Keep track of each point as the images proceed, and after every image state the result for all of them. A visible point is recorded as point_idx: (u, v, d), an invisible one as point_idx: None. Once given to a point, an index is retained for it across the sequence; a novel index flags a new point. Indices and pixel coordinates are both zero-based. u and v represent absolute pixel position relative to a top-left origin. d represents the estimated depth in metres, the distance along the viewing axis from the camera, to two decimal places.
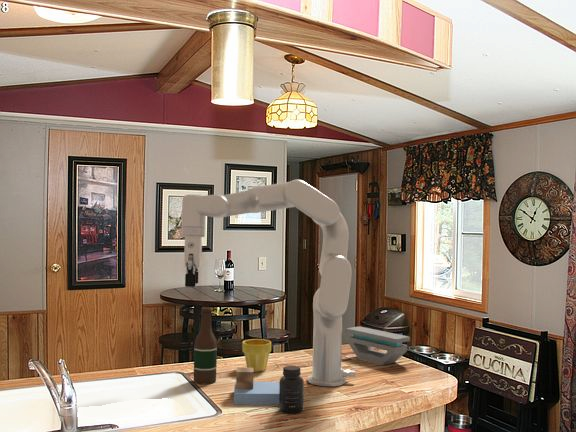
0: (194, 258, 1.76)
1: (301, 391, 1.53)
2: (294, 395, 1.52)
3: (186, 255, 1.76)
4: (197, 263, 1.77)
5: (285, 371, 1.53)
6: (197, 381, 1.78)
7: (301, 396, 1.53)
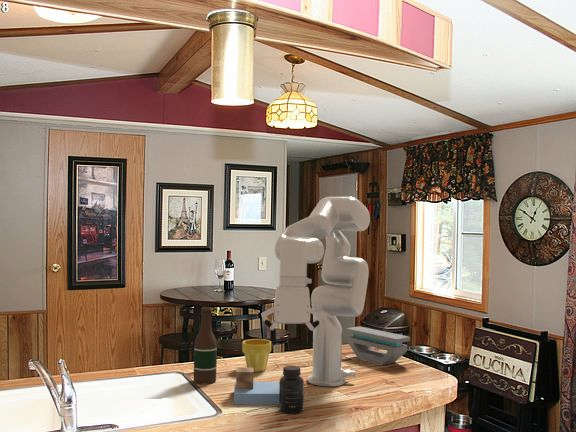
0: None
1: (301, 391, 1.53)
2: (294, 395, 1.52)
3: (310, 309, 1.54)
4: None
5: (285, 371, 1.53)
6: (197, 381, 1.78)
7: (301, 396, 1.53)
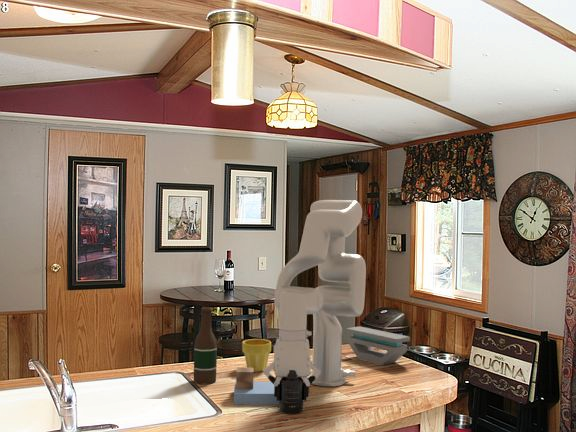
0: None
1: (301, 391, 1.53)
2: (294, 395, 1.52)
3: (310, 362, 1.54)
4: None
5: None
6: (197, 381, 1.78)
7: (301, 396, 1.53)
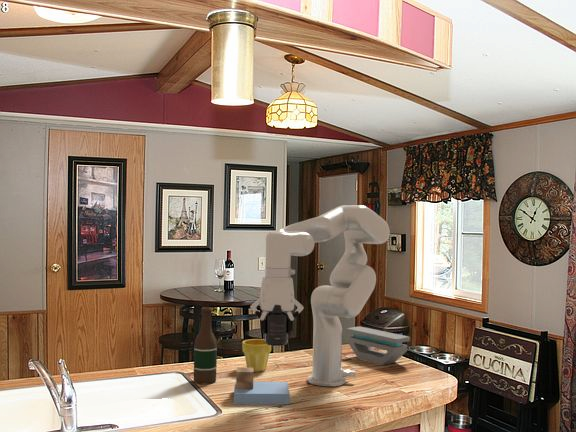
0: None
1: (285, 325, 1.64)
2: (279, 328, 1.63)
3: None
4: None
5: None
6: (197, 381, 1.78)
7: (285, 329, 1.64)
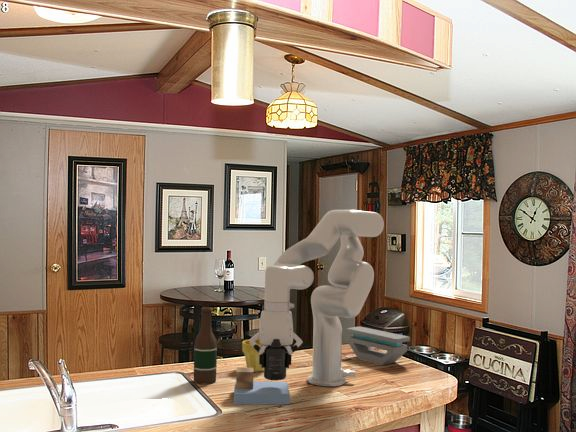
0: None
1: (284, 359, 1.64)
2: (277, 362, 1.63)
3: (292, 332, 1.65)
4: None
5: None
6: (197, 381, 1.78)
7: (284, 363, 1.64)
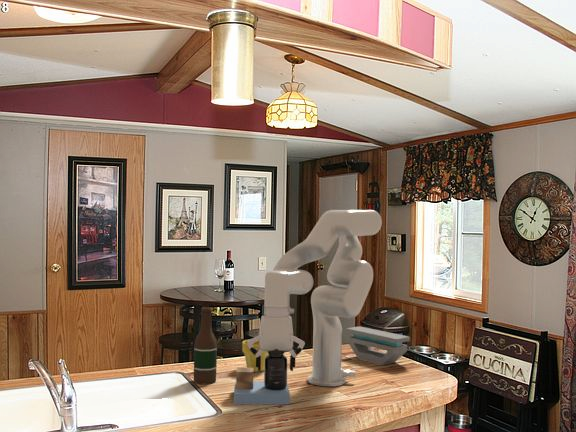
0: None
1: (284, 369, 1.64)
2: (278, 372, 1.63)
3: (292, 337, 1.65)
4: None
5: None
6: (197, 381, 1.78)
7: (284, 373, 1.64)
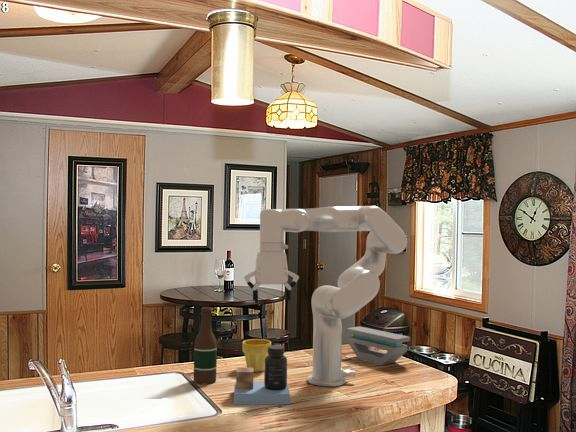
0: None
1: (284, 369, 1.64)
2: (278, 372, 1.63)
3: (287, 271, 1.75)
4: None
5: (269, 350, 1.65)
6: (197, 381, 1.78)
7: (284, 373, 1.64)
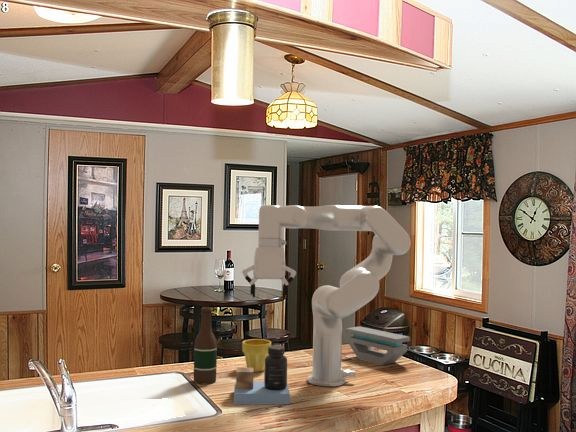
0: None
1: (284, 369, 1.64)
2: (278, 372, 1.63)
3: (285, 266, 1.77)
4: None
5: (270, 350, 1.65)
6: (197, 381, 1.78)
7: (284, 373, 1.64)
